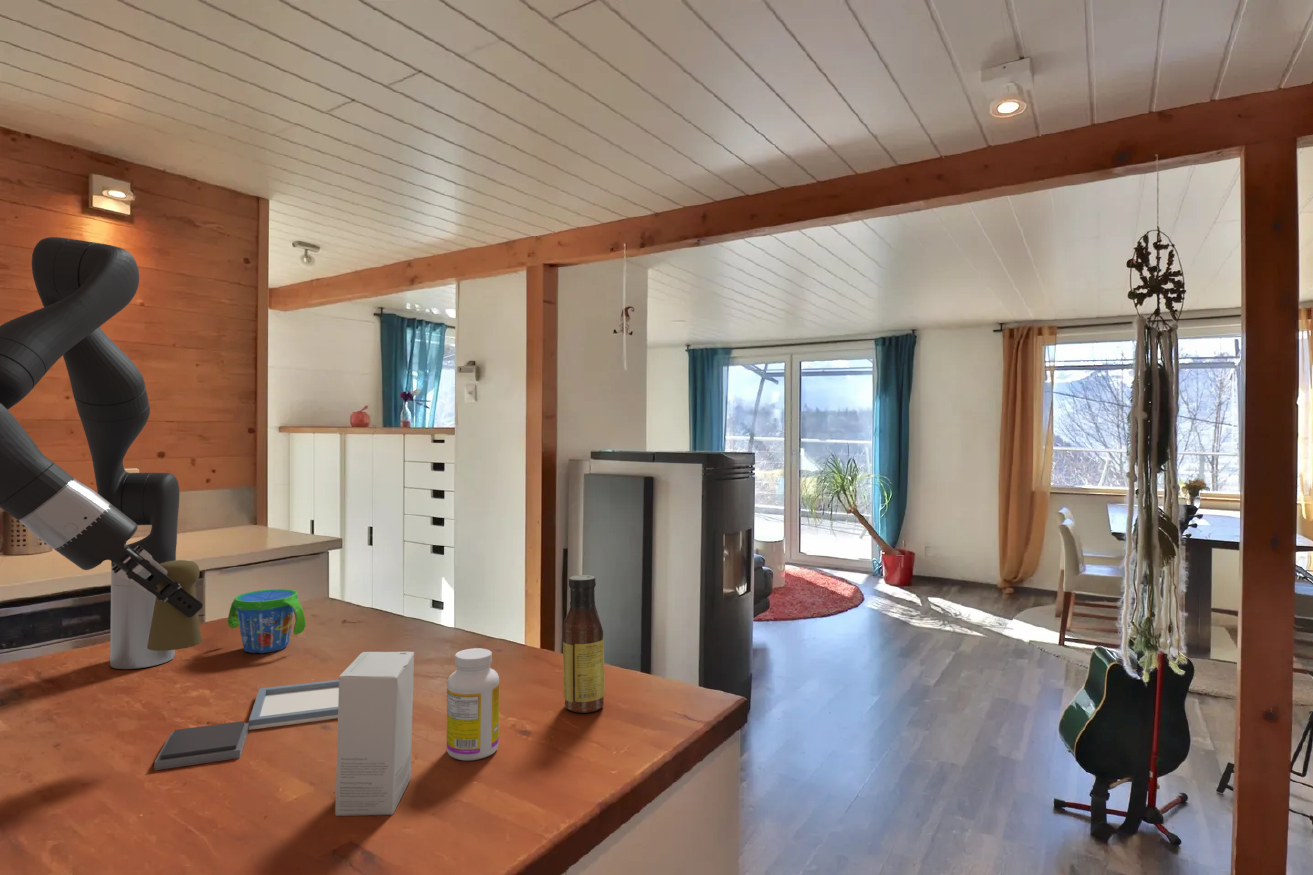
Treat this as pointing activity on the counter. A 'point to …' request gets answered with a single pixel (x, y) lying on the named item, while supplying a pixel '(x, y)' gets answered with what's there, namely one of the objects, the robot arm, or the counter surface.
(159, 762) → the ink pad
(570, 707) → the sauce bottle
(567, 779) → the counter surface
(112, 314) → the robot arm
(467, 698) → the supplement bottle
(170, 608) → the olive tapered round piece
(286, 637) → the snack cup
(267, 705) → the blank framed board
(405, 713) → the skincare box
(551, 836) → the counter surface
